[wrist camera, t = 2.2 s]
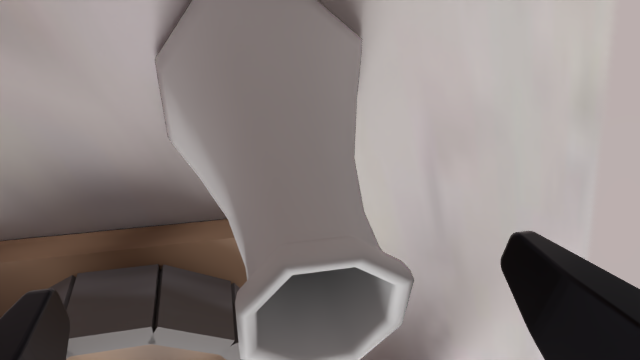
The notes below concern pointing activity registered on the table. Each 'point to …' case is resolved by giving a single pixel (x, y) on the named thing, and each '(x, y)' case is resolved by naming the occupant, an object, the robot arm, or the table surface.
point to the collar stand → (136, 289)
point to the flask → (284, 172)
